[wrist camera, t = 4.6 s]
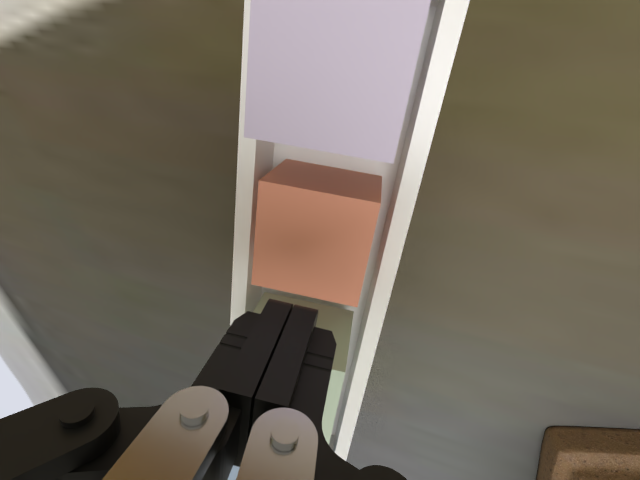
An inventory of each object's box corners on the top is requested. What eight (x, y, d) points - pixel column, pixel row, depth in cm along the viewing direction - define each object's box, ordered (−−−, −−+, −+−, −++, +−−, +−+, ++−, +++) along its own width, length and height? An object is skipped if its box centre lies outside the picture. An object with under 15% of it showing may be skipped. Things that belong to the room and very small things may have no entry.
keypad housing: (345, 433, 28) (338, 486, 24) (245, 407, 28) (224, 455, 25) (457, -9, 16) (479, -35, 12) (278, -32, 16) (247, -64, 13)
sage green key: (338, 379, 21) (327, 449, 17) (258, 360, 22) (229, 423, 18) (353, 311, 19) (345, 372, 15) (264, 291, 20) (233, 345, 16)
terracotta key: (363, 262, 20) (357, 307, 16) (277, 244, 21) (251, 284, 17) (381, 176, 18) (381, 203, 14) (286, 158, 19) (258, 180, 15)
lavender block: (391, 142, 16) (393, 163, 12) (279, 122, 16) (243, 137, 12) (421, 7, 13) (436, -25, 9) (291, -11, 14) (253, -49, 10)
